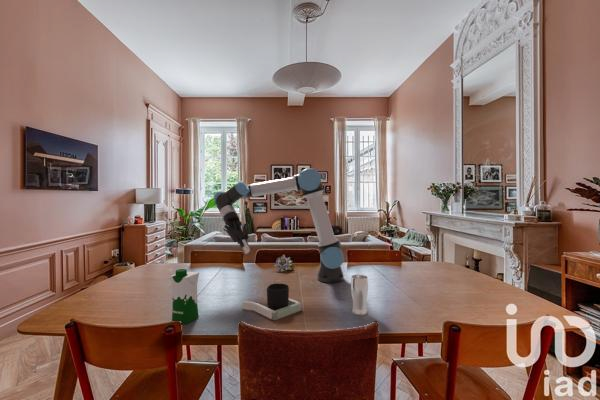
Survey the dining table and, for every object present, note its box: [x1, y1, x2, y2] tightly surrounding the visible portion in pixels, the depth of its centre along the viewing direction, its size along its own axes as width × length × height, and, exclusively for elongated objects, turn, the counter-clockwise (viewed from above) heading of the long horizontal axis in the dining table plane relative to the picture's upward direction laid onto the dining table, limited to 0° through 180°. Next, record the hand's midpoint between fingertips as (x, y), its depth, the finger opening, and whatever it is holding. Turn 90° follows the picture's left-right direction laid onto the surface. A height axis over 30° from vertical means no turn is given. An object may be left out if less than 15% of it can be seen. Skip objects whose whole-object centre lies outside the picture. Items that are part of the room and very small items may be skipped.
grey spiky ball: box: [273, 254, 295, 273], centre depth 191 cm, size 11×11×12 cm
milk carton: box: [169, 268, 200, 325], centre depth 115 cm, size 9×9×20 cm
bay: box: [242, 297, 303, 321], centre depth 126 cm, size 19×20×3 cm
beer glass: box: [350, 274, 369, 317], centre depth 121 cm, size 7×7×15 cm
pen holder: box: [266, 282, 290, 311], centre depth 124 cm, size 9×9×10 cm
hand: (247, 251), depth 141 cm, fingers closed
